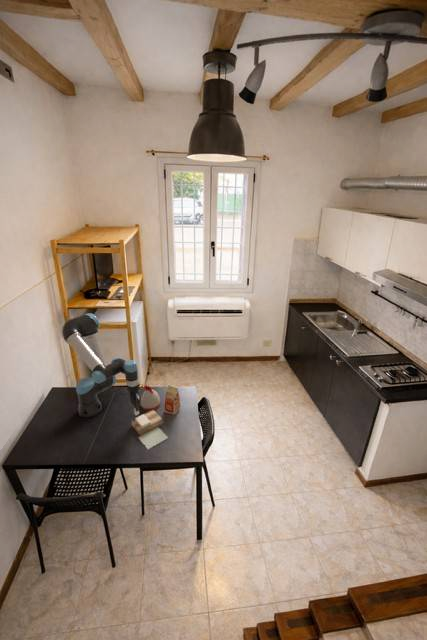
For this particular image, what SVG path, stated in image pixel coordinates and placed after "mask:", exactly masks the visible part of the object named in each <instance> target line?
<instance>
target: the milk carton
mask: <svg viewBox="0 0 427 640" xmlns="http://www.w3.org/2000/svg"><path fill="white" fill-rule="evenodd" d="M163 405H164V406H163V412H164V413H167V414H171V415H175V414H177V413H178V412H179V411H180V409H181V400H180V393H179V388H178V387H177V386H173V385H171V384H167V388H166V390H165V395H164V404H163Z"/></svg>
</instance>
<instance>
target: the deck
mask: <svg viewBox="0 0 427 640" xmlns="http://www.w3.org/2000/svg"><path fill="white" fill-rule="evenodd" d="M143 414H144V415H145V416H146V417H147V418H148V419H149V420H150V422H151V424H150V425H148V426H146V427H144V428H141V427H140V425H139V424H138V423H137V422H136V421H135V418H134V419H131V420H130V421H131V422H130V423H131V426H132V427H133V428H134V430H135V431H136V432H137V434H138V435H140V436H142V435H144V434H146V433H148V432H149V431H151V430H153V429H155V428H157V427H160V426H162V425H163V424H164V422H163V421H164V420H163V417H162V416H160V415H159V414H158V413H157V412H156V411H155V409H154V410H148V412H146V413H143ZM140 436H139V437H140Z"/></svg>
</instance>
